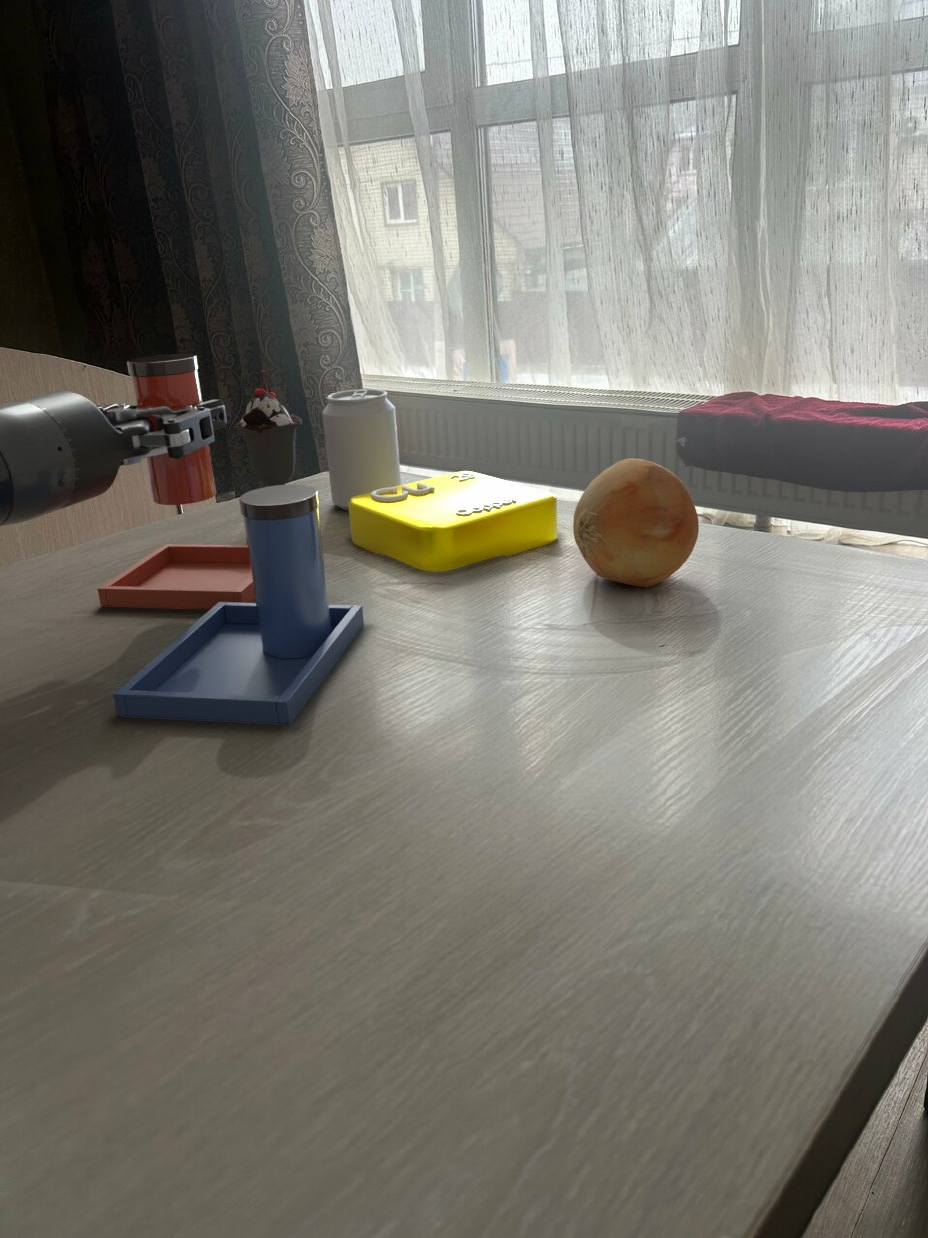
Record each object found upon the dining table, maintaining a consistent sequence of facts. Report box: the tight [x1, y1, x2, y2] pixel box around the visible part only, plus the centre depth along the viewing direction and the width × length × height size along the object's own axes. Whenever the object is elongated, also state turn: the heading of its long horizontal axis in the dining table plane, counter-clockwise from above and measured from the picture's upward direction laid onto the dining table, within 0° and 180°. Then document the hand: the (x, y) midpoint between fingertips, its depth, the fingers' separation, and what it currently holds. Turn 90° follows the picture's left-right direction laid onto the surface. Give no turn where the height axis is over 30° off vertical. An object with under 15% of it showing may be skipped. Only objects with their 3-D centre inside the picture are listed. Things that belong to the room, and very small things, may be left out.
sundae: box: [234, 369, 303, 487], centre depth 98 cm, size 7×7×15 cm
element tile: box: [348, 470, 558, 573], centre depth 90 cm, size 15×15×5 cm
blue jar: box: [238, 484, 332, 659], centre depth 67 cm, size 5×5×11 cm
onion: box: [572, 457, 700, 588], centre depth 76 cm, size 10×10×10 cm
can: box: [321, 388, 402, 512], centre depth 102 cm, size 8×8×12 cm
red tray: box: [97, 543, 256, 610], centre depth 82 cm, size 12×11×2 cm
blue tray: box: [112, 602, 365, 726], centre depth 66 cm, size 11×15×2 cm
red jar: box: [126, 353, 217, 506], centre depth 77 cm, size 5×5×11 cm
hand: (193, 411), depth 78 cm, fingers closed on red jar, 5 cm apart
